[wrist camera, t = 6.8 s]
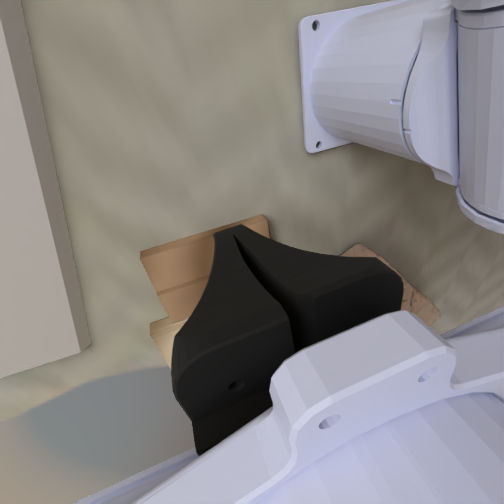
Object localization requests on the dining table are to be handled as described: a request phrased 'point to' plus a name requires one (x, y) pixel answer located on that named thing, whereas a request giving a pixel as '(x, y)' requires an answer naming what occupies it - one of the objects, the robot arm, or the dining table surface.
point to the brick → (411, 296)
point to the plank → (187, 267)
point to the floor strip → (165, 335)
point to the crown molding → (31, 220)
